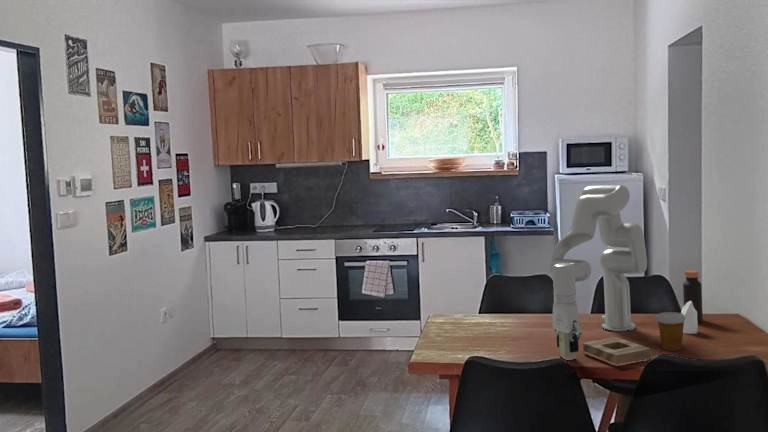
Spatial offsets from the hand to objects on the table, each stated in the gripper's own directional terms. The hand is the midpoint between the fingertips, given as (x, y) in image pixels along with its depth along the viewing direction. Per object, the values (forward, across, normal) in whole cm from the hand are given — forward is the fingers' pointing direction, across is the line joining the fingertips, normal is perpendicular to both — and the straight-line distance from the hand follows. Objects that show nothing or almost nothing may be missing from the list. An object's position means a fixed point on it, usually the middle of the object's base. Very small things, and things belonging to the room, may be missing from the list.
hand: (567, 348), depth 250 cm
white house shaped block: (+4, -3, +56) cm, 56 cm away
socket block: (+3, +8, +14) cm, 16 cm away
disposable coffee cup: (+4, +10, +36) cm, 38 cm away
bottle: (+3, -15, +69) cm, 71 cm away
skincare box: (+4, 0, 0) cm, 4 cm away
